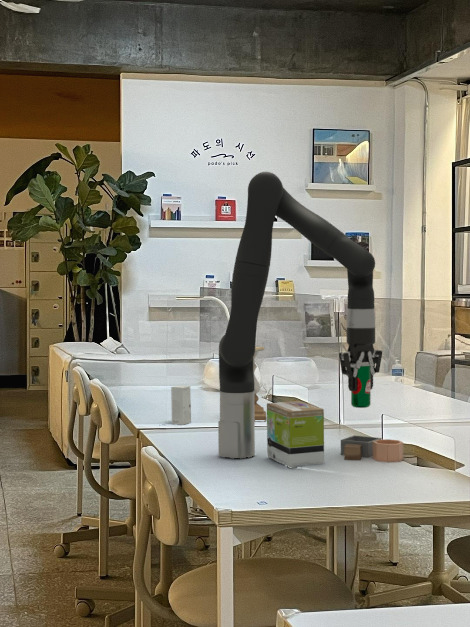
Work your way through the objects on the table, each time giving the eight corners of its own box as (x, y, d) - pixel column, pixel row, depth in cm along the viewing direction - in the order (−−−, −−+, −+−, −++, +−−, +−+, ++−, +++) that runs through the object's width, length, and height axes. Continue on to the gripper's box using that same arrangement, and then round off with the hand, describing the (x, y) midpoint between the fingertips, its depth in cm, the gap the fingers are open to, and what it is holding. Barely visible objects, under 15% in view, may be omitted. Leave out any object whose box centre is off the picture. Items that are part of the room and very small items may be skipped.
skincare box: (183, 425, 306) (183, 387, 305) (170, 424, 307) (170, 386, 307) (191, 422, 311) (191, 385, 311) (179, 421, 313) (179, 384, 313)
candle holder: (266, 421, 312) (265, 348, 311) (232, 421, 312) (232, 348, 311) (265, 416, 323) (265, 345, 322) (233, 416, 323) (232, 346, 322)
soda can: (369, 408, 250) (369, 362, 249) (350, 407, 251) (350, 362, 250) (371, 405, 255) (371, 360, 254) (351, 405, 256) (351, 360, 255)
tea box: (265, 458, 251) (265, 402, 251) (300, 455, 255) (300, 400, 254) (289, 469, 237) (288, 409, 237) (325, 466, 241) (325, 407, 240)
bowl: (395, 465, 241) (395, 445, 241) (369, 462, 245) (369, 442, 245) (406, 460, 247) (406, 441, 247) (380, 457, 251) (380, 438, 251)
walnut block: (359, 462, 245) (359, 447, 245) (344, 462, 246) (344, 446, 246) (361, 459, 249) (361, 444, 249) (345, 459, 250) (345, 444, 249)
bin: (368, 459, 248) (368, 442, 248) (340, 456, 252) (340, 439, 252) (381, 454, 255) (381, 438, 255) (354, 451, 259) (354, 435, 259)
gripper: (351, 327, 245) (351, 393, 246) (390, 325, 253) (390, 389, 254) (331, 326, 251) (331, 391, 252) (370, 324, 259) (370, 386, 260)
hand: (360, 389), depth 253 cm, fingers closed on soda can, 5 cm apart
